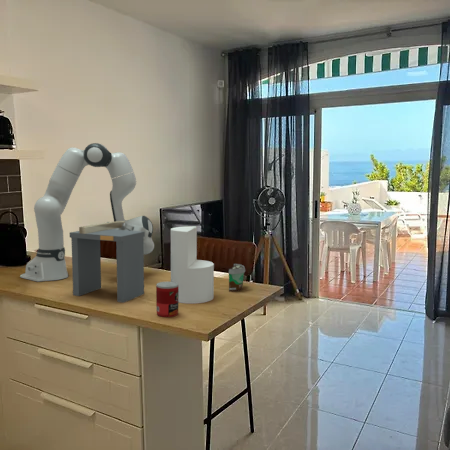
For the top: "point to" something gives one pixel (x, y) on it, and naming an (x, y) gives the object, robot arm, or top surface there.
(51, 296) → the top surface
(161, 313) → the canned food
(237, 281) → the food container
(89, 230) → the bar
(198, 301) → the white stepped pillar
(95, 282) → the grey step stool
